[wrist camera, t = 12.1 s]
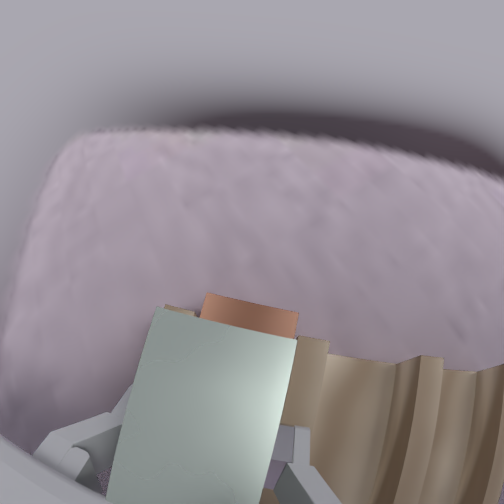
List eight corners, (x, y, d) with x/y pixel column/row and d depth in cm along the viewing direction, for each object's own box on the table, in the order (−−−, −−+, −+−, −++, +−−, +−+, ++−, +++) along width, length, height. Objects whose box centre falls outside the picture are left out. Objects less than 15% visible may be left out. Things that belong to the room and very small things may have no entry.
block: (267, 377, 15) (297, 340, 6) (239, 487, 13) (231, 588, 4) (208, 364, 15) (156, 306, 7) (180, 472, 13) (97, 546, 4)
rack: (479, 357, 18) (519, 342, 14) (455, 506, 13) (493, 517, 9) (188, 305, 20) (173, 278, 16) (142, 475, 15) (114, 492, 11)
